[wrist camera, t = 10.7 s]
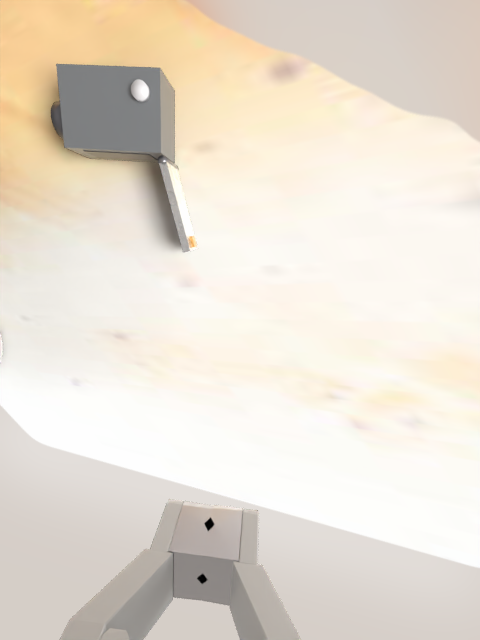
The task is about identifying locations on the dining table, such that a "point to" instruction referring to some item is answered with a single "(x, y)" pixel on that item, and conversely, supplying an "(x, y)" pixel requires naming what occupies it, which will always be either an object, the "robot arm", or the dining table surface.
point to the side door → (178, 204)
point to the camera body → (115, 112)
